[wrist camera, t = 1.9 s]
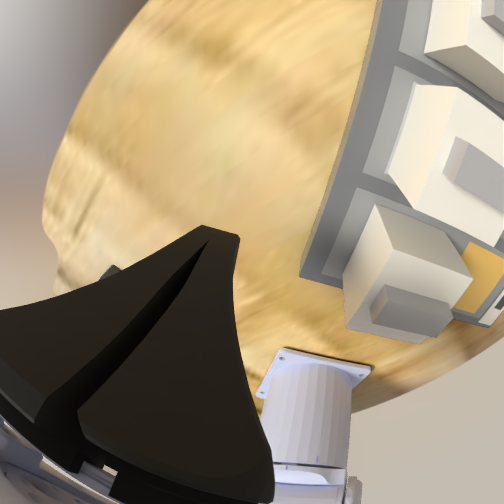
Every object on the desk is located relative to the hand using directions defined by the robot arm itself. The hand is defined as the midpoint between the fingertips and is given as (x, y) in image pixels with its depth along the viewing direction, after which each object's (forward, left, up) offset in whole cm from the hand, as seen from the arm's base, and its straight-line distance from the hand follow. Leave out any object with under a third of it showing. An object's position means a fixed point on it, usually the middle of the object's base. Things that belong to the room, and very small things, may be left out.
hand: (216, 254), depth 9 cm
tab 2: (+5, -7, -4) cm, 10 cm away
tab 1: (+11, -7, -4) cm, 14 cm away
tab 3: (0, -7, -4) cm, 8 cm away
